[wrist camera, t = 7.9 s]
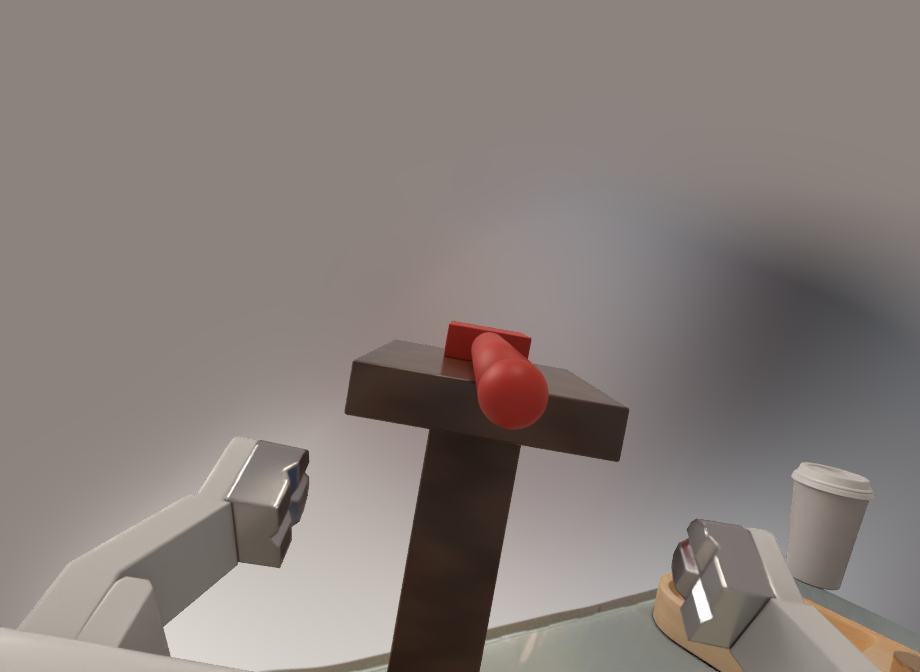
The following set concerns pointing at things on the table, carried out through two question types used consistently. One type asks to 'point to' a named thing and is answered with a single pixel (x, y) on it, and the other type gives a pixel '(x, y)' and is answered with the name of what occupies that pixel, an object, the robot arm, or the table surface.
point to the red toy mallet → (500, 373)
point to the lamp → (895, 660)
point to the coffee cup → (825, 523)
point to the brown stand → (465, 487)
